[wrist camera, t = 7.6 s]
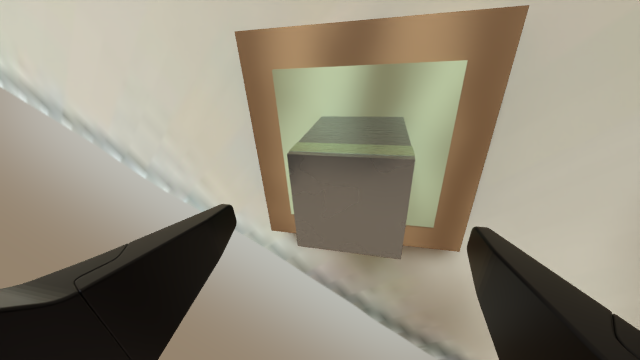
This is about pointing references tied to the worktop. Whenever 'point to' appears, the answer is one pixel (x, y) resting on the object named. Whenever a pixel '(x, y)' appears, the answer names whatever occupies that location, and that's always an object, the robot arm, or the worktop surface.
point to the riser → (387, 101)
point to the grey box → (352, 185)
